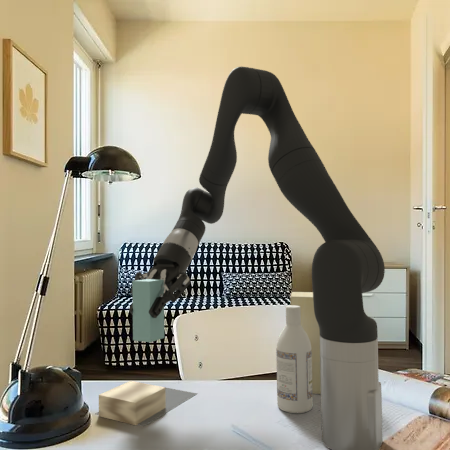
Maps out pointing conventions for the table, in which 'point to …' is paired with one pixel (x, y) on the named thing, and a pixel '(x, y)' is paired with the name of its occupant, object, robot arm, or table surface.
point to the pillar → (146, 311)
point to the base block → (132, 402)
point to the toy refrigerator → (310, 332)
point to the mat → (169, 403)
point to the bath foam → (294, 365)
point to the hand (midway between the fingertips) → (142, 314)
